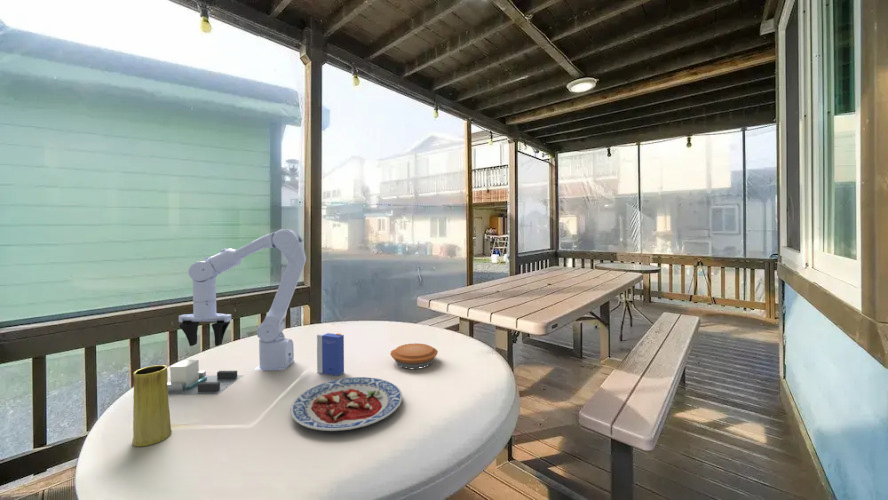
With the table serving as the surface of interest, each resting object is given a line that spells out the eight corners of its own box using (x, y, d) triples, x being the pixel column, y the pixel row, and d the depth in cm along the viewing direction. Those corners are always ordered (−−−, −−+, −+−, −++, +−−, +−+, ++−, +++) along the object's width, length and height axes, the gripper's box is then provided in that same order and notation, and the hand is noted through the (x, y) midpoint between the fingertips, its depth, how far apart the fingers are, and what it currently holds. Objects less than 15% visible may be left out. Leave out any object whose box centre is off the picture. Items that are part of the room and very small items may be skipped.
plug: (199, 380, 95) (198, 359, 95) (186, 388, 90) (185, 366, 90) (184, 380, 95) (183, 359, 95) (170, 388, 90) (170, 366, 90)
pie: (446, 360, 113) (446, 345, 113) (419, 376, 100) (418, 359, 100) (410, 351, 122) (410, 338, 122) (380, 365, 109) (380, 350, 109)
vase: (178, 432, 71) (176, 366, 70) (144, 450, 65) (142, 377, 65) (159, 427, 73) (157, 362, 72) (124, 443, 67) (122, 373, 67)
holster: (237, 377, 98) (237, 370, 97) (217, 391, 89) (216, 384, 88) (219, 377, 97) (219, 370, 97) (197, 391, 88) (197, 384, 88)
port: (209, 377, 97) (209, 370, 97) (186, 391, 88) (186, 384, 88) (184, 377, 97) (184, 371, 97) (158, 392, 88) (158, 384, 88)
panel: (243, 377, 99) (243, 375, 99) (217, 396, 87) (217, 394, 87) (188, 377, 99) (188, 375, 99) (154, 397, 87) (154, 394, 87)
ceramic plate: (294, 453, 64) (294, 438, 64) (287, 397, 87) (287, 385, 87) (418, 420, 76) (418, 407, 76) (384, 378, 99) (384, 368, 99)
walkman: (344, 372, 103) (343, 333, 102) (338, 376, 100) (338, 336, 100) (323, 369, 105) (322, 331, 105) (316, 372, 103) (316, 333, 102)
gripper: (170, 303, 98) (171, 349, 98) (220, 303, 98) (221, 349, 99) (188, 298, 105) (189, 341, 105) (235, 298, 105) (236, 341, 106)
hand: (205, 345), depth 102 cm, fingers open, 7 cm apart
